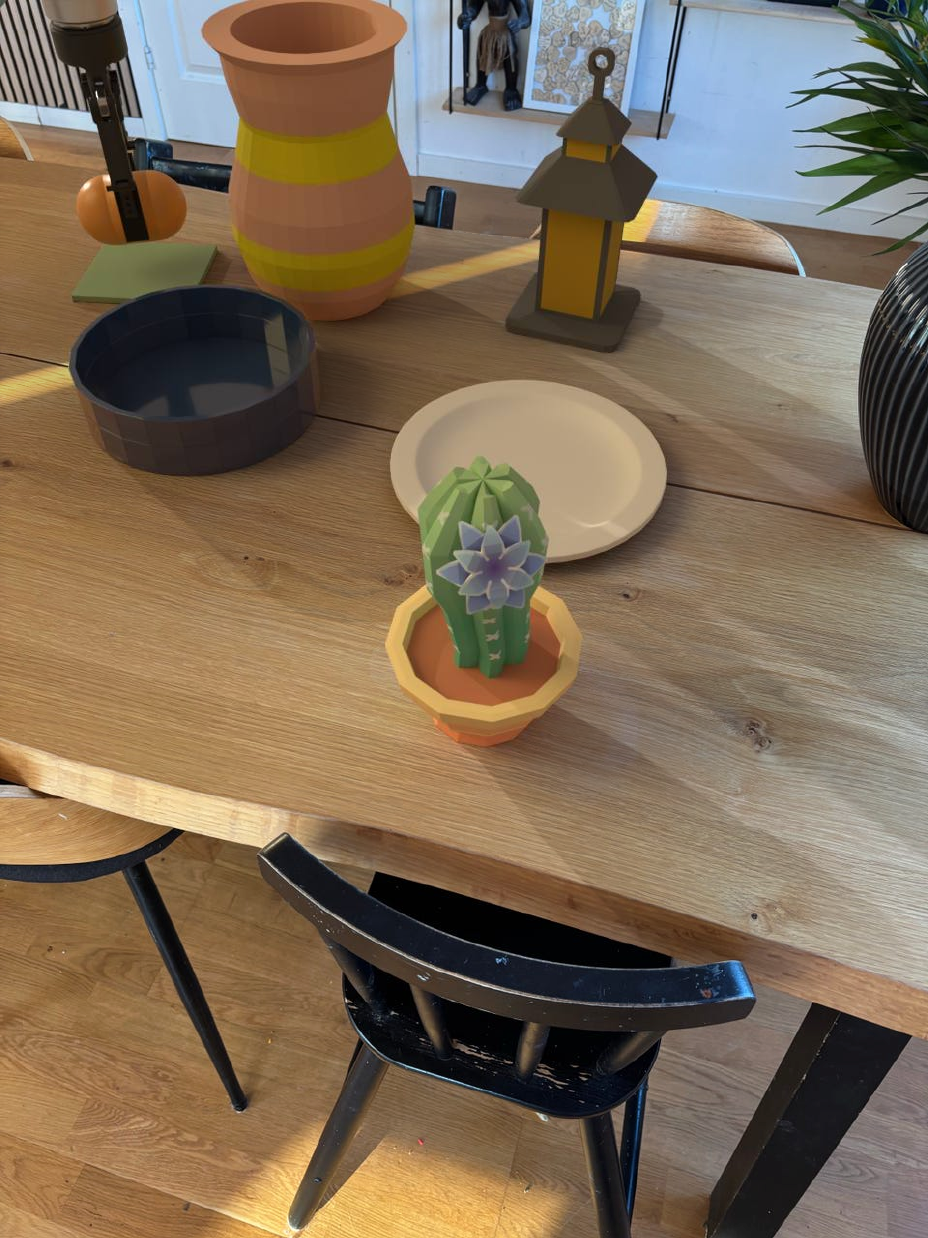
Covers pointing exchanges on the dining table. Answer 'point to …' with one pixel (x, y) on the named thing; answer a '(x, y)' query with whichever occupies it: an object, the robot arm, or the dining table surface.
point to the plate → (541, 458)
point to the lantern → (583, 227)
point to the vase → (316, 151)
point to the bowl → (197, 378)
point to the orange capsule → (157, 200)
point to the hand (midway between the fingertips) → (135, 222)
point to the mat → (142, 270)
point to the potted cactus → (483, 611)
